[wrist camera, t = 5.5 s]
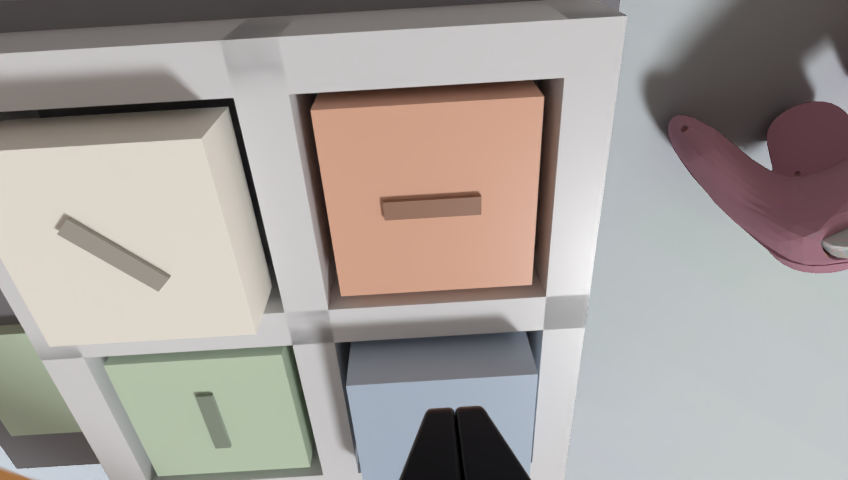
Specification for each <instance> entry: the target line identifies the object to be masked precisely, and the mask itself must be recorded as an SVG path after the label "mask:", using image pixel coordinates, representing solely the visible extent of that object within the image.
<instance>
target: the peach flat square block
mask: <svg viewBox="0 0 848 480" xmlns="http://www.w3.org/2000/svg"><path fill="white" fill-rule="evenodd" d="M543 109H544V95H543V94H542V92H541V91H540V90H539V88H538V87H537V86H536V84H535V83H534V81H533V80H521V81H505V82H488V83H471V84H455V85H438V86H422V87H405V88H389V89H372V90H355V91H339V92H322V93H318V94H317V97H316V99H315V101H314V103H313V106H312V108H311V110H310V111H311V117H312V123H313V129H314V135H315V141H316V148H317V154H318V160H319V166H320V172H321V178H322V184H323V190H324V196H325V202H326V208H327V214H328V220H329V226H330V232H331V238H332V245H333V251H334V257H335V263H336V269H337V275H338V281H339V287H340V293H341V296H356V295H373V294H389V293H406V292H422V291H439V290H455V289H472V288H488V287H505V286H521V285H532V276H533V261H534V245H535V230H536V215H537V200H538V185H539V169H540V154H541V139H542V124H543Z"/></svg>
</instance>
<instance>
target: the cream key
mask: <svg viewBox="0 0 848 480" xmlns="http://www.w3.org/2000/svg"><path fill="white" fill-rule="evenodd" d="M0 258H1V260H2V262H3V264H4V266H5V267H6V269H7V271H8V273H9V275H10V276H11V278H12V280H13V282H14V284H15V285H16V287H17V289H18V291H19V293H20V295H21V296H22V298H23V300H24V302H25V304H26V305H27V307H28V309H29V311H30V313H31V314H32V316H33V318H34V320H35V322H36V323H37V325H38V327H39V329H40V331H41V333H42V334H43V336H44V338H45V340H46V342H47V343H48V345H49V347H56V346H72V345H89V344H105V343H122V342H138V341H155V340H171V339H188V338H204V337H221V336H237V335H254V334H257V331H258V328H259V325H260V322H261V319H262V316H263V313H264V310H265V307H266V304H267V301H268V298H269V295H270V292H271V289H272V283H271V279H270V275H269V271H268V267H267V262H266V258H265V254H264V250H263V246H262V242H261V238H260V234H259V230H258V226H257V222H256V218H255V213H254V209H253V205H252V201H251V197H250V193H249V189H248V185H247V181H246V177H245V173H244V169H243V165H242V160H241V156H240V152H239V148H238V144H237V140H236V136H235V132H234V128H233V124H232V120H231V116H230V112H229V107H213V108H196V109H180V110H163V111H147V112H130V113H114V114H97V115H80V116H64V117H47V118H31V119H14V120H4V121H2V122H0Z"/></svg>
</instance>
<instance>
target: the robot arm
mask: <svg viewBox="0 0 848 480" xmlns="http://www.w3.org/2000/svg"><path fill="white" fill-rule="evenodd" d="M399 480H531V479H530V477H529V475H528V474H527V472H526V471H525V469H524V468H523V466H522V465H521V463H520V462H519V460H518V459H517V457H516V456H515V454H514V453H513V451H512V450H511V448H510V447H509V445H508V444H507V442H506V440H505V439H504V437H503V436H502V434H501V433H500V431H499V430H498V428H497V427H496V425H495V424H494V422H493V421H492V419H491V418H490V416H489V415H488V413H487V412H486V410H485V409H484V408H483V407H481V406H464V407H458V408H457V409H456V410H455V411H454V410H453V409H452V408H450V407H447V408H431V409H428V410H427V411H426V413H425V415H424V417H423V419H422V422H421V425H420V427H419V430H418V432H417V435H416V437H415V440H414V442H413V445H412V447H411V450H410V453H409V455H408V458H407V460H406V463H405V465H404V468H403V470H402V473H401V475H400V478H399Z"/></svg>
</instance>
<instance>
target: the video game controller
mask: <svg viewBox="0 0 848 480" xmlns="http://www.w3.org/2000/svg"><path fill="white" fill-rule="evenodd" d="M668 134H669V139H670V142H671V144H672V146H673V149H674V150H675V152H676V153H677V155H678V157H679V158H680V160H681V161H682V163H683V164H684V165H685V167H686V168H687V170H688V171H689V172H690V174H691V175H692V176H693V177H694V179H695V180H696V181H697V182H698V183H699V184H700V185H701V186H702V188H703V189H704V190H705V191H706V192H707V193H708V195H709V196H710V197H711V198H712V200H713V201H714V202H715V203H716V204H717V205H718V206H719V207H720V208H721V209H722V210H723V211H724V212H725V213H726V214H727V215H728V216H729V217H730V218H731V219H732V220H733V221H734V222H736V223H737V224H738V225H739V226H740V227H742V228H743V229H744V230H745V231H746V232H747V233H748V234H750V235H751V236H752V237H753V238H754V239H755V240H757V241H758V242H759V243H760V244H761V245H762V246H764V247H765V248H766V249H767V250H768V251H769V252H770V253H771V254H772V255H773V256H774V257H775V258H776V259H777V260H778V261H780V262H781V263H782V264H784V265H786V266H788V267H790V268H792V269H795V270H798V271H802V272H810V273H832V272H838V271H842V270H846V269H848V115H847V114H846V112H845V111H844V110H842V109H841V108H839V107H838V106H836V105H834V104H832V103H827V102H817V101H814V102H808V103H804V104H800V105H797V106H795V107H792V108H790V109H788V110H787V111H785V112H783V113H782V114H780V115H779V116H778V117H777V118H776V119H775V120H774V121H773V122H772V123H771V125H770V127H769V129H768V133H767V146H768V150H769V155H770V159H771V163H772V168H773V170H772V171H770V170H768V169H767V168H765V167H764V166H762V165H760V164H759V163H757V162H756V161H754V160H752V159H751V158H750V157H749V156H747V155H746V154H745V153H744V152H743V151H741V150H740V149H739V148H738V147H737V146H735V145H734V144H733V143H732V142H731V141H729V140H728V139H727V138H726V137H725V136H723V135H722V134H721V133H720V132H719V131H717V130H716V129H714V128H712V127H710V126H708V125H707V124H705V123H703V122H701V121H699V120H697V119H695V118H692V117H690V116H687V115H676V116H674V117H672V118H671V120H670V121H669V124H668Z"/></svg>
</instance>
